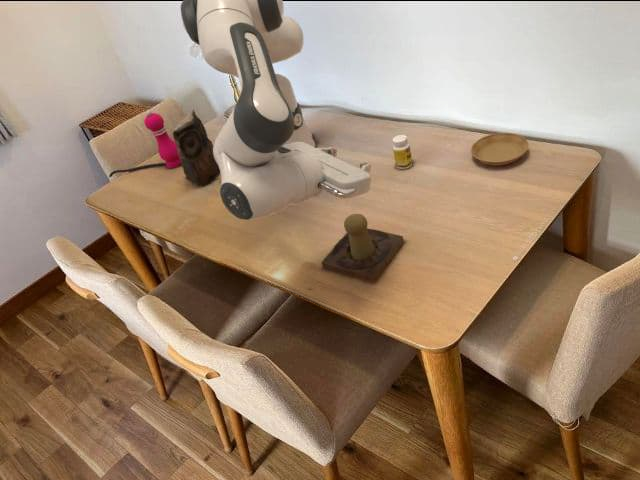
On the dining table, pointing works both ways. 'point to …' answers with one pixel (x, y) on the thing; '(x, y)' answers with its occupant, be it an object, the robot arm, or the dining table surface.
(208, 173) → the owl
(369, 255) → the pepper shaker
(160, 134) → the pepper mill
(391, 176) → the dining table surface
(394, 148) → the supplement bottle
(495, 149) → the plant saucer
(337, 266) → the holder
